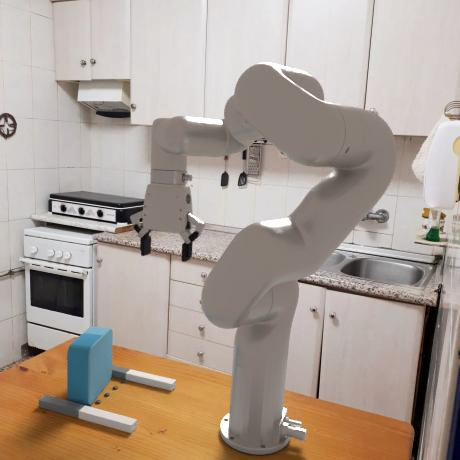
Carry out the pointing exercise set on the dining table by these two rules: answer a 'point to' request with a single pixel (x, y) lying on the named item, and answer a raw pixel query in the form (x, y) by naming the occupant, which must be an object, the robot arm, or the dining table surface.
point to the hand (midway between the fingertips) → (165, 257)
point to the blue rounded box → (89, 365)
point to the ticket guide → (101, 415)
